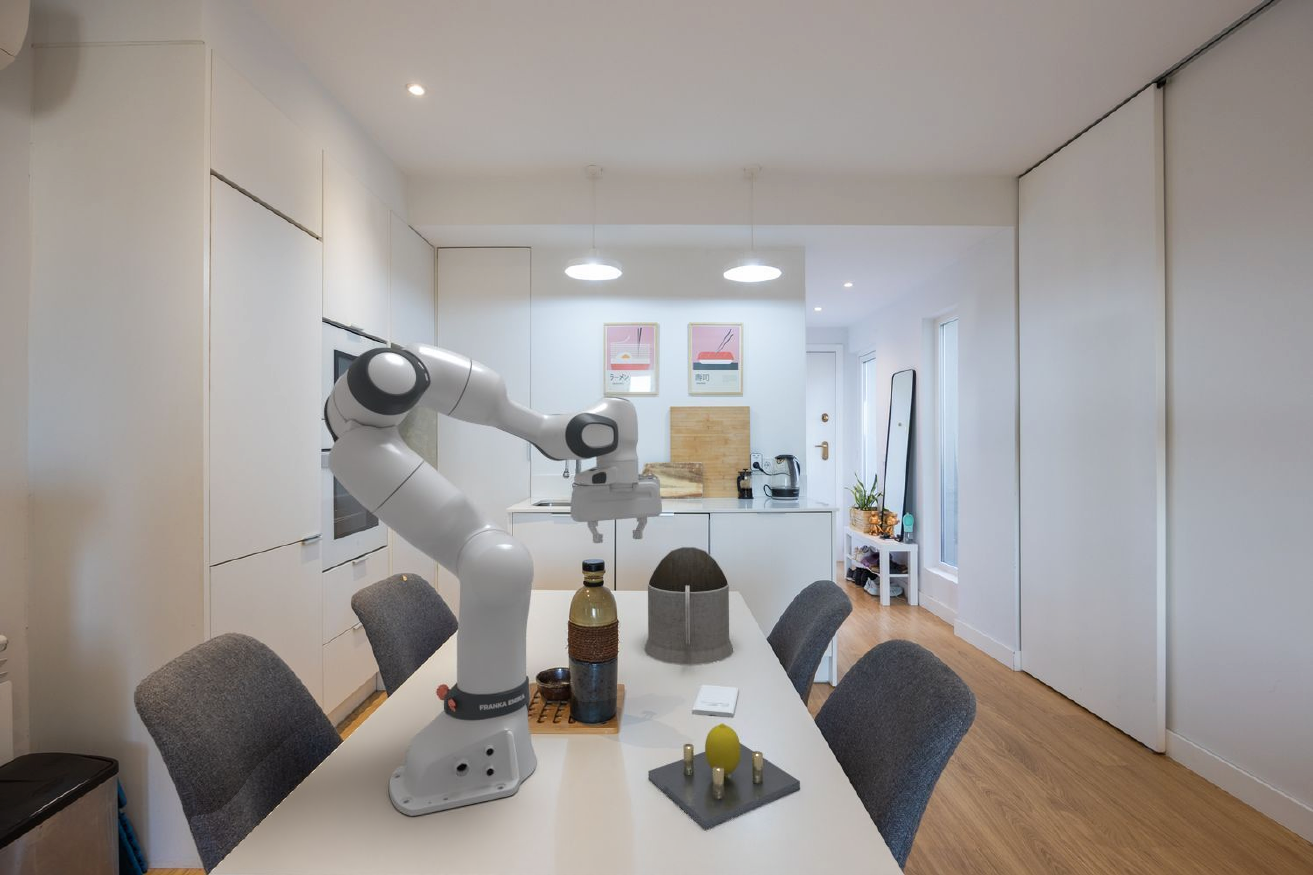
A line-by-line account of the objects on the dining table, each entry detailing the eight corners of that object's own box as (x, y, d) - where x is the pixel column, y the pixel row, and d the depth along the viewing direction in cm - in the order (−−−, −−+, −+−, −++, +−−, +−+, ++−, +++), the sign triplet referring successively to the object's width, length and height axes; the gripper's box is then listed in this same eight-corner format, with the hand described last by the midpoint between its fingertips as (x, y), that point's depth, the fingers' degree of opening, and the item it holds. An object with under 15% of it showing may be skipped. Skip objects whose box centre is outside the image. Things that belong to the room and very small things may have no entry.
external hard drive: (738, 695, 126) (733, 720, 114) (701, 691, 128) (691, 716, 116) (738, 687, 127) (733, 712, 114) (701, 684, 128) (691, 708, 116)
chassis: (705, 829, 81) (704, 791, 81) (648, 778, 93) (648, 745, 93) (799, 788, 90) (799, 754, 90) (736, 747, 103) (736, 717, 103)
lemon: (737, 765, 95) (736, 715, 95) (744, 785, 89) (743, 731, 89) (702, 767, 94) (702, 716, 95) (707, 786, 89) (707, 733, 89)
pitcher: (730, 635, 165) (729, 546, 166) (739, 679, 134) (738, 568, 134) (648, 634, 167) (647, 546, 167) (637, 678, 135) (636, 568, 136)
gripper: (651, 472, 132) (652, 534, 132) (567, 475, 121) (567, 543, 121) (667, 473, 127) (667, 538, 126) (579, 476, 116) (580, 547, 116)
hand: (618, 540), depth 124 cm, fingers open, 8 cm apart
